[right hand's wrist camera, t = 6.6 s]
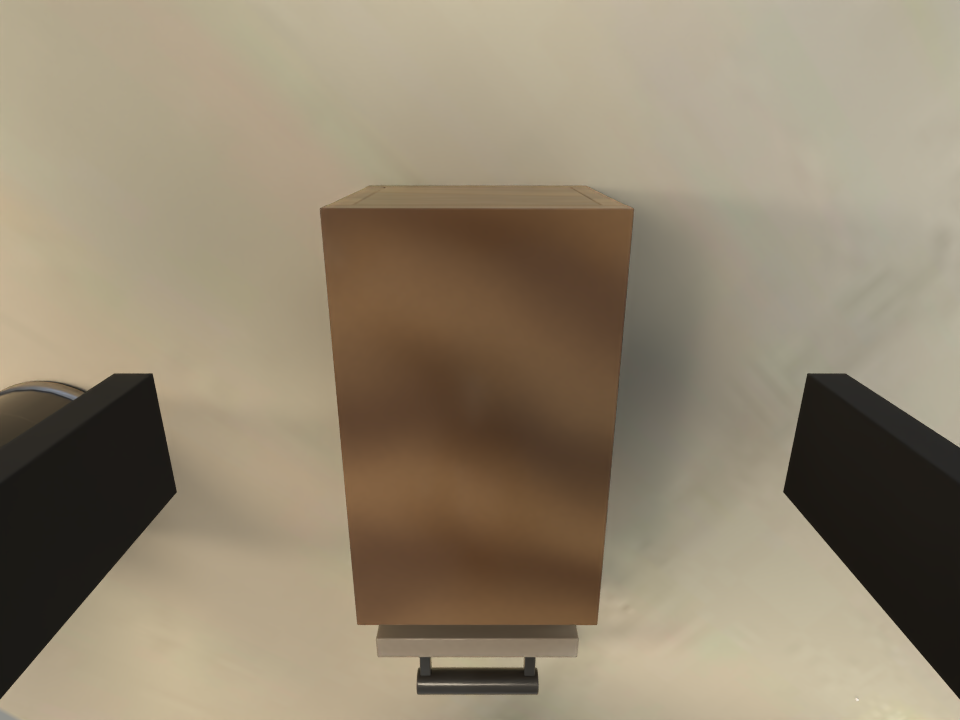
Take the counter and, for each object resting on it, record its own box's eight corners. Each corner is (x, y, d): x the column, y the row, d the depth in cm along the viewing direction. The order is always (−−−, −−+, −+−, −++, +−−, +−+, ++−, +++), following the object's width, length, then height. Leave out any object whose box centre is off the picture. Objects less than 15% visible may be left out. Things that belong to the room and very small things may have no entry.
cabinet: (567, 501, 37) (597, 625, 28) (388, 501, 37) (357, 625, 28) (587, 185, 31) (634, 208, 21) (368, 185, 31) (319, 207, 21)
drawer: (553, 627, 39) (570, 744, 32) (402, 627, 39) (383, 744, 32) (573, 272, 31) (603, 316, 24) (382, 272, 31) (350, 316, 24)
